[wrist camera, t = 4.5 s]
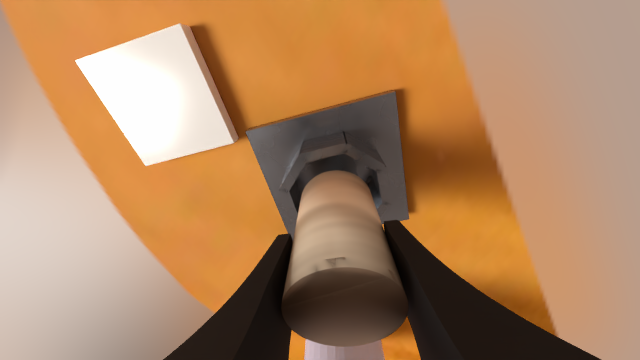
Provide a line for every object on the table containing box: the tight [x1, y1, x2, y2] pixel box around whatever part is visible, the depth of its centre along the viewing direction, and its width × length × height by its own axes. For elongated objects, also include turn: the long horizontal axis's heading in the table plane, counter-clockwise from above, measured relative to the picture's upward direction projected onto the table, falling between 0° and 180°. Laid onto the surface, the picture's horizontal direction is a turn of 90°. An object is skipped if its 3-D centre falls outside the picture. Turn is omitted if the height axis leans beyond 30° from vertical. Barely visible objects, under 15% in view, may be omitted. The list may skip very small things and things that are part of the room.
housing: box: [245, 90, 409, 240], centre depth 16 cm, size 10×10×3 cm
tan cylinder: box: [281, 170, 409, 347], centre depth 11 cm, size 4×4×7 cm
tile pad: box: [75, 24, 239, 166], centre depth 15 cm, size 7×7×1 cm
